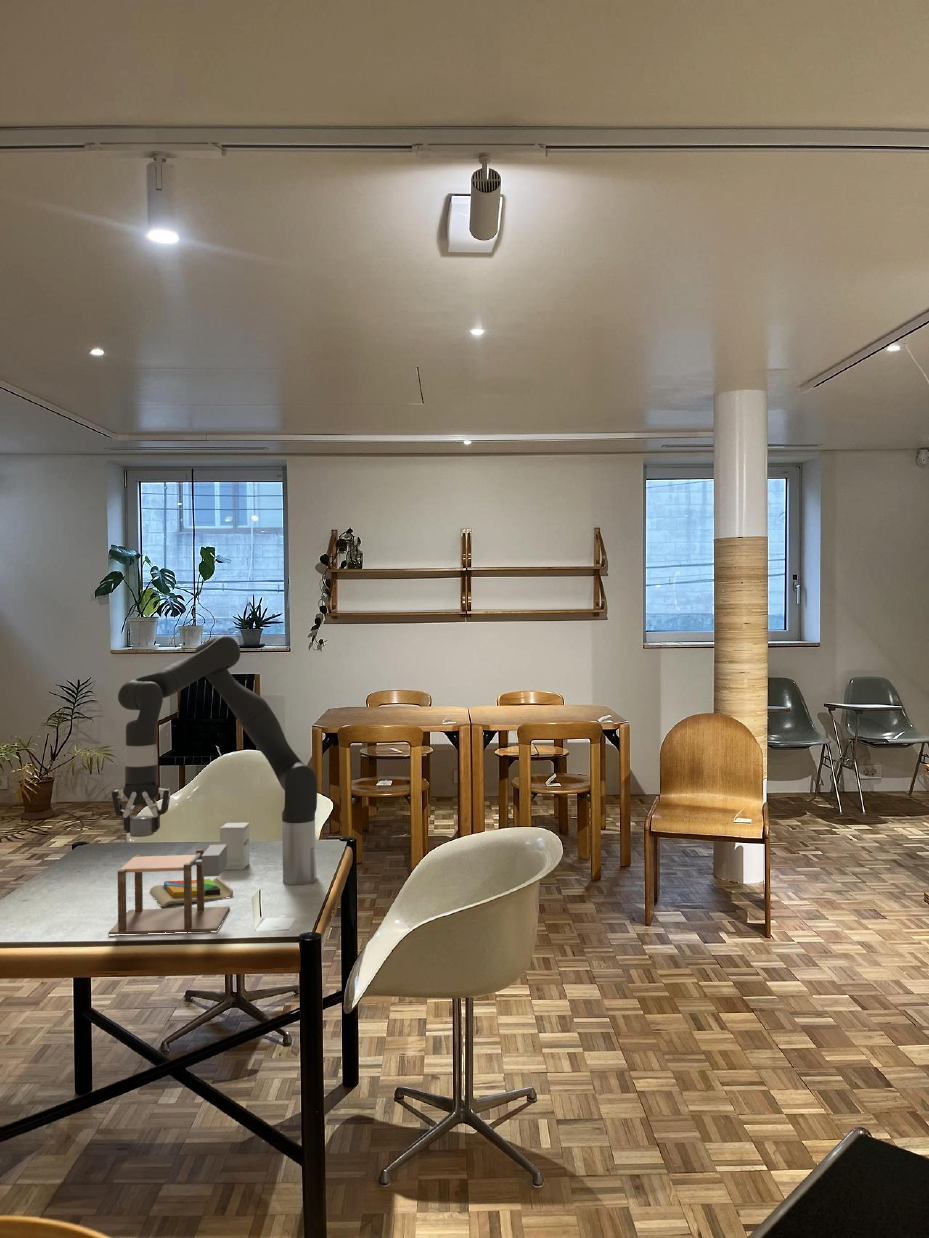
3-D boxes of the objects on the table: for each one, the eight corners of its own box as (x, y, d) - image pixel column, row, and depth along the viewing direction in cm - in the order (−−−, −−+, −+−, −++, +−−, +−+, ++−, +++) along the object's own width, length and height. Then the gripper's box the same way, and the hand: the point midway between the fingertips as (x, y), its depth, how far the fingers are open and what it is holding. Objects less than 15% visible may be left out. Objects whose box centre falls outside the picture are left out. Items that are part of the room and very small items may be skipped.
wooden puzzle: (234, 899, 247) (234, 886, 247) (162, 910, 238) (162, 897, 238) (217, 883, 262) (217, 871, 262) (148, 894, 253) (148, 881, 253)
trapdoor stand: (229, 910, 236) (229, 847, 236) (217, 932, 219) (216, 864, 219) (129, 913, 234) (128, 850, 234) (108, 936, 217) (107, 868, 217)
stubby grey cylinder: (156, 831, 229) (156, 815, 229) (150, 836, 223) (150, 820, 223) (133, 832, 228) (133, 815, 228) (126, 837, 223) (126, 820, 223)
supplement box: (244, 869, 275) (243, 827, 275) (219, 870, 275) (218, 827, 275) (250, 863, 282) (249, 822, 282) (226, 863, 282) (225, 822, 282)
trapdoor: (227, 863, 233) (227, 843, 233) (218, 876, 221) (218, 855, 221) (134, 866, 231) (133, 846, 231) (120, 879, 219) (119, 858, 219)
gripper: (174, 760, 230) (175, 827, 230) (115, 761, 229) (116, 829, 229) (167, 764, 223) (168, 834, 223) (106, 766, 222) (107, 836, 222)
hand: (141, 831), depth 226 cm, fingers closed on stubby grey cylinder, 5 cm apart
